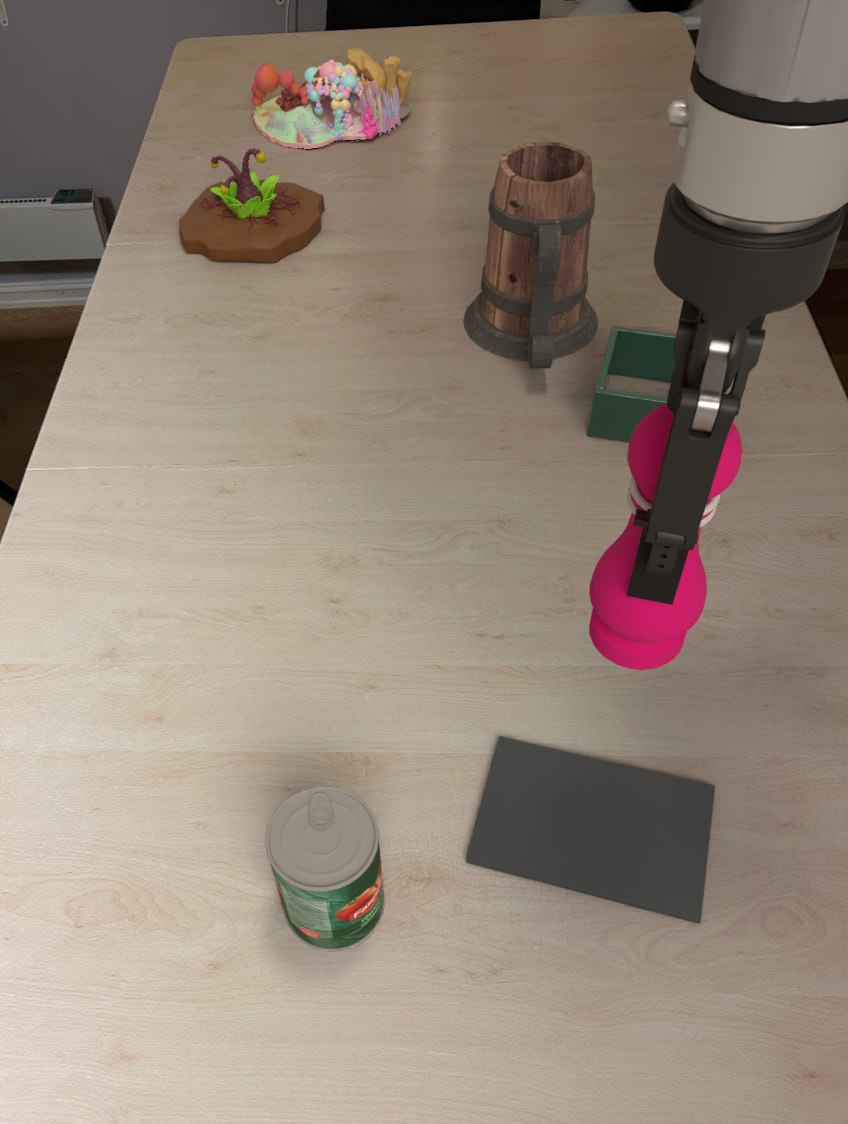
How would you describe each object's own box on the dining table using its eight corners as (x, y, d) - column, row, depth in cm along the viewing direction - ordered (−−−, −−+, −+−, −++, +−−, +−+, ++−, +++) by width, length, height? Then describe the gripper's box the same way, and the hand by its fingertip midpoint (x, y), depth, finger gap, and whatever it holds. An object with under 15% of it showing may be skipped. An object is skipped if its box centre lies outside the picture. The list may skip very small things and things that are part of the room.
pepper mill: (657, 583, 68) (725, 337, 53) (711, 659, 64) (802, 416, 48) (563, 610, 67) (605, 367, 51) (611, 690, 63) (672, 451, 47)
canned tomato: (389, 946, 73) (383, 884, 64) (285, 956, 72) (265, 896, 64) (380, 850, 78) (374, 780, 69) (282, 859, 77) (264, 791, 69)
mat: (713, 789, 79) (715, 785, 79) (699, 924, 72) (701, 921, 72) (498, 739, 83) (499, 735, 83) (465, 862, 76) (465, 859, 76)
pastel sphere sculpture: (343, 74, 171) (339, 16, 164) (437, 113, 160) (437, 52, 153) (231, 122, 161) (222, 62, 154) (323, 167, 150) (318, 105, 143)
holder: (713, 384, 112) (726, 340, 107) (703, 454, 105) (716, 409, 100) (604, 369, 115) (612, 325, 110) (587, 436, 108) (594, 391, 103)
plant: (291, 273, 131) (281, 192, 123) (163, 254, 136) (145, 175, 127) (341, 201, 143) (335, 123, 134) (221, 186, 148) (208, 110, 139)
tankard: (462, 284, 128) (466, 128, 112) (591, 282, 127) (614, 123, 111) (465, 395, 113) (472, 233, 97) (611, 393, 112) (641, 229, 96)
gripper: (690, 94, 48) (618, 456, 66) (638, 295, 37) (569, 660, 55) (852, 107, 46) (732, 475, 64) (846, 321, 35) (704, 689, 54)
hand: (656, 560), depth 60 cm, fingers closed on pepper mill, 5 cm apart
